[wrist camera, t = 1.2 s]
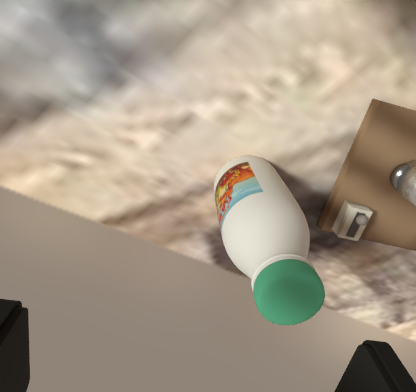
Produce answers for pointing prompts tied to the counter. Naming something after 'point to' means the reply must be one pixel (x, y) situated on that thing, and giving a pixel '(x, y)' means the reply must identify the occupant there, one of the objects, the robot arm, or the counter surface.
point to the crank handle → (405, 180)
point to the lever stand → (375, 181)
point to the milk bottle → (268, 239)
